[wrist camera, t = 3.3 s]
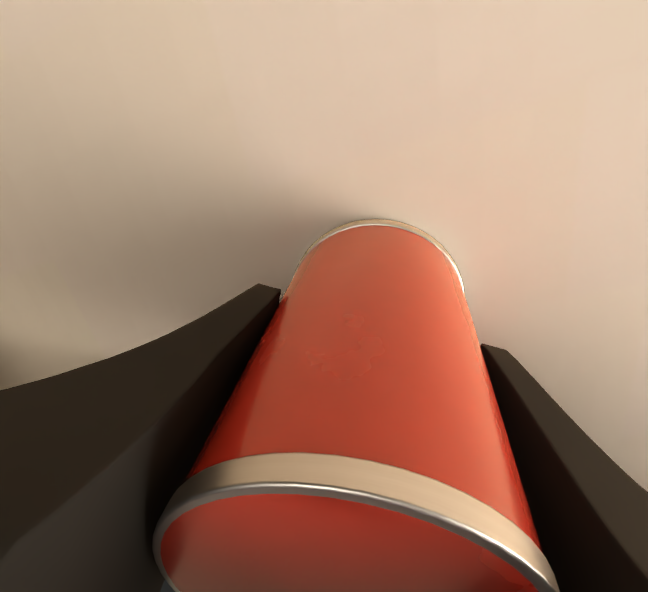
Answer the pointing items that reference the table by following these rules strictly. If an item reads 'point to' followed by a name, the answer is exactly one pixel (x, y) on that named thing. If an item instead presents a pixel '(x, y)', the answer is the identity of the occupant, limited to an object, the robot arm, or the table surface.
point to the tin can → (359, 442)
